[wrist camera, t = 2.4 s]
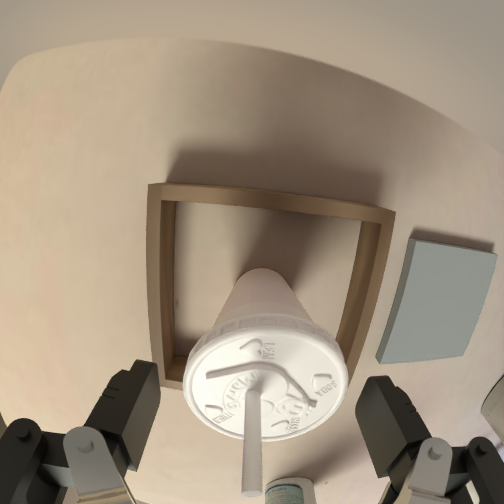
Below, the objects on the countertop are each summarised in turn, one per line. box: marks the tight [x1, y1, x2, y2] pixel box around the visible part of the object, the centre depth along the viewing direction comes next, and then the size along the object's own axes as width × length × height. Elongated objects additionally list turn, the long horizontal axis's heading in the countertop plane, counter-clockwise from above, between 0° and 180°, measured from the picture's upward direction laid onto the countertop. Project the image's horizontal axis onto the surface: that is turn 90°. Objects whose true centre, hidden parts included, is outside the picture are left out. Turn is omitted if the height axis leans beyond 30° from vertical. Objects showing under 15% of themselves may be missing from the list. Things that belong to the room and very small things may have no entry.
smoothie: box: [183, 268, 348, 498], centre depth 12 cm, size 6×6×14 cm
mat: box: [376, 238, 498, 364], centre depth 18 cm, size 10×10×1 cm
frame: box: [146, 182, 396, 392], centre depth 17 cm, size 14×14×3 cm
